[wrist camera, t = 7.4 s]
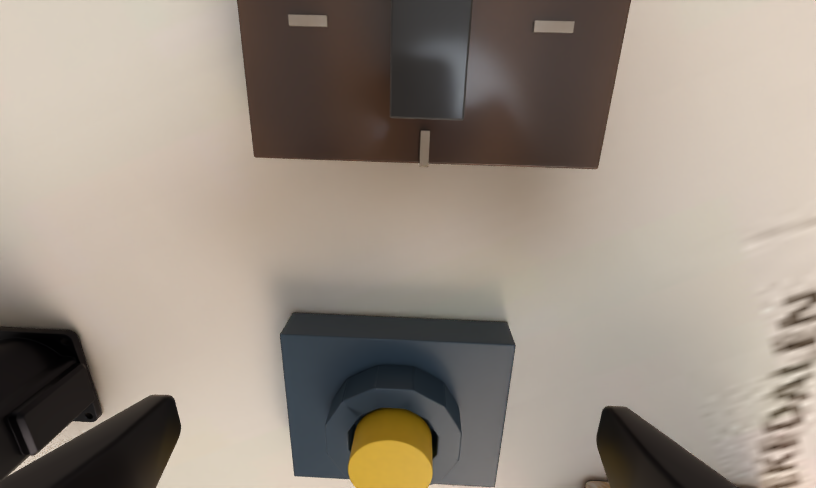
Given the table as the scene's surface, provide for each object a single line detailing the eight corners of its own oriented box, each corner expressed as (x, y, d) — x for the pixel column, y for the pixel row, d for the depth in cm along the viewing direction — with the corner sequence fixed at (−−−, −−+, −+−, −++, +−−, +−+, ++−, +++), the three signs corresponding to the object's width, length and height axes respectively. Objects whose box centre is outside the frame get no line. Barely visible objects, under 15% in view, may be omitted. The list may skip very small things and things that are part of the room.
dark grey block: (452, 112, 15) (464, 121, 10) (400, 110, 15) (388, 118, 10) (464, -78, 13) (487, -179, 8) (404, -79, 13) (392, -181, 8)
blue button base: (304, 446, 26) (283, 505, 22) (292, 312, 22) (265, 355, 18) (489, 456, 25) (500, 518, 22) (507, 321, 22) (524, 368, 18)
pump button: (355, 463, 21) (348, 500, 19) (353, 404, 20) (346, 438, 18) (430, 467, 21) (430, 505, 19) (433, 408, 20) (435, 442, 18)
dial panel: (278, 150, 19) (252, 160, 16) (255, -116, 15) (215, -165, 13) (572, 160, 19) (599, 172, 16) (618, -110, 15) (665, -160, 12)
